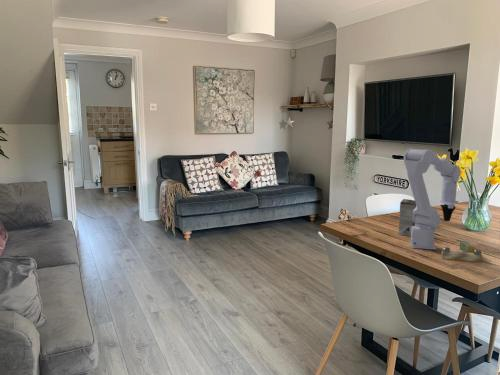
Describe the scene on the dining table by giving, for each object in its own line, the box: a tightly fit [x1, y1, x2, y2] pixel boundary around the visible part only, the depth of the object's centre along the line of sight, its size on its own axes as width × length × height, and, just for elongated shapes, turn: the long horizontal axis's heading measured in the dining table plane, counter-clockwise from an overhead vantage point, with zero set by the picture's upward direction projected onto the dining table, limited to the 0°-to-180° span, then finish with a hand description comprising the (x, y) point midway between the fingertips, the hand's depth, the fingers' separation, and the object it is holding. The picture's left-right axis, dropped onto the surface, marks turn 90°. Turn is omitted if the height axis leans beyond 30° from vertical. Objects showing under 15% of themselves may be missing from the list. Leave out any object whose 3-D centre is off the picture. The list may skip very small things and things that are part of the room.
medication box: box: [459, 240, 482, 253], centre depth 160 cm, size 12×3×4 cm, turn 179°
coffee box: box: [398, 198, 417, 237], centre depth 189 cm, size 9×6×16 cm
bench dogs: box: [442, 246, 482, 255], centre depth 154 cm, size 13×2×4 cm, turn 72°
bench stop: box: [441, 249, 483, 263], centre depth 154 cm, size 14×2×2 cm, turn 72°
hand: (446, 220), depth 177 cm, fingers closed
